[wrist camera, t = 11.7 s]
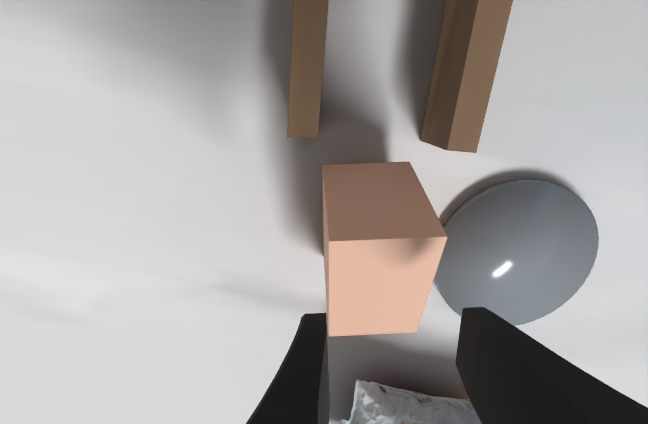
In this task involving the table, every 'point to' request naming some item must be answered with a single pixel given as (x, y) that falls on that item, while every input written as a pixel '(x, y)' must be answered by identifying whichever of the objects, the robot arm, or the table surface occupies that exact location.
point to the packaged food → (406, 407)
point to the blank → (377, 247)
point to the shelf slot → (447, 78)
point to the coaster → (517, 250)
